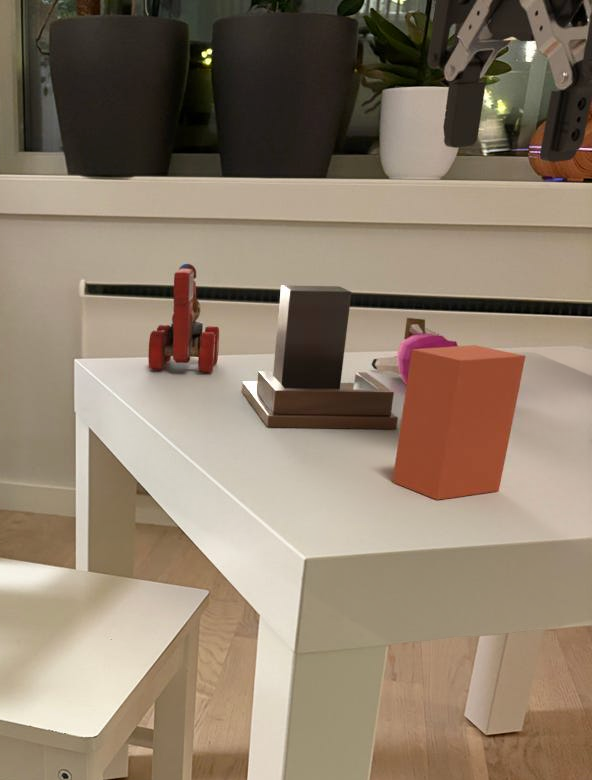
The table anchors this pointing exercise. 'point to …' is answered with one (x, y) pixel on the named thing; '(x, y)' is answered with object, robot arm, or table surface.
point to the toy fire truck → (184, 329)
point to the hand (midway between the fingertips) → (505, 152)
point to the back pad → (457, 420)
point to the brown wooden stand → (316, 369)
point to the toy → (411, 348)
